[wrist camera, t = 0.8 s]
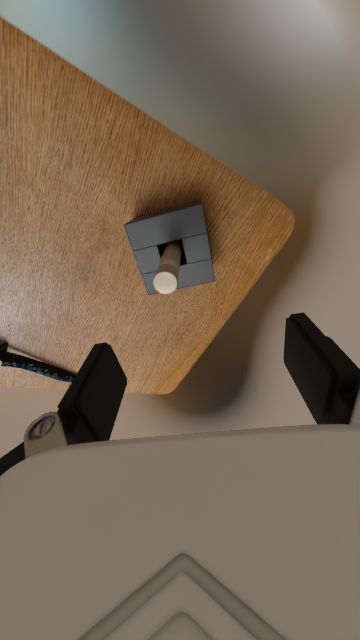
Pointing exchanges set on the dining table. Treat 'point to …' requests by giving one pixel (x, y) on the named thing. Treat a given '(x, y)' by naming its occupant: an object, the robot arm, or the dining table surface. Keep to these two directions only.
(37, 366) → the knife
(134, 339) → the dining table surface
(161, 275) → the stick
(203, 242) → the holder
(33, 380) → the dining table surface
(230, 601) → the robot arm
